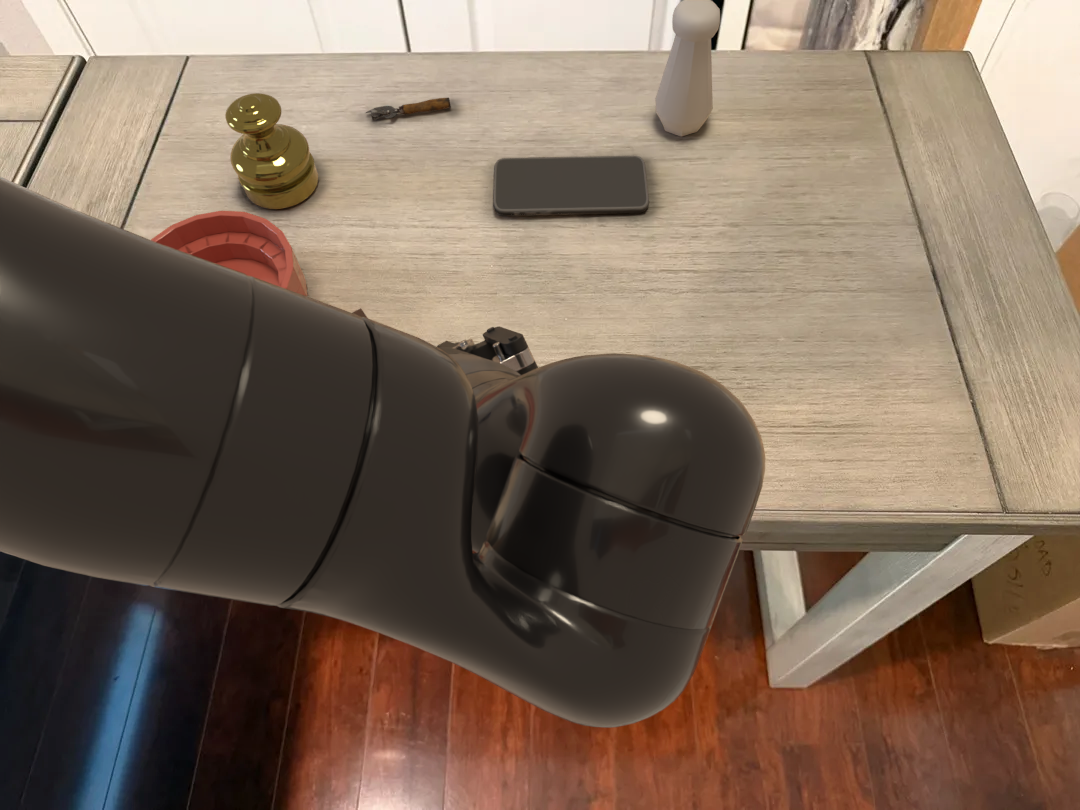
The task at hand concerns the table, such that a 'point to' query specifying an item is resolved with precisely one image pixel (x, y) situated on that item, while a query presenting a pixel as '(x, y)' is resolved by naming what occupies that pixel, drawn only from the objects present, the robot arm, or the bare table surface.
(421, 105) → the can opener
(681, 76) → the salt shaker
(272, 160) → the brass weight
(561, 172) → the smartphone
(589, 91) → the table surface
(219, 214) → the bowl
